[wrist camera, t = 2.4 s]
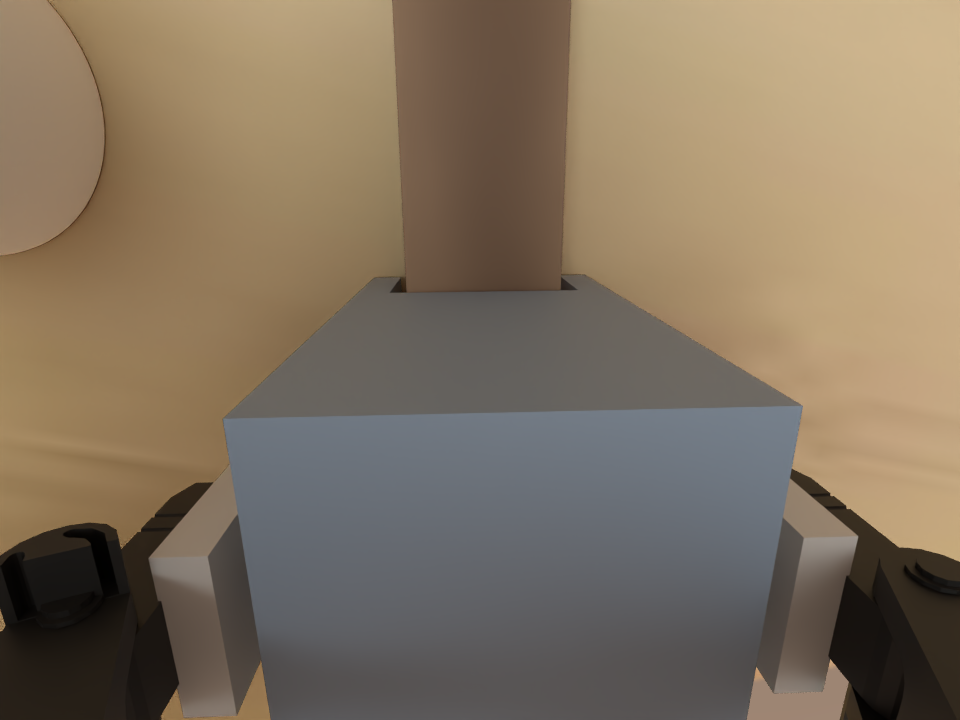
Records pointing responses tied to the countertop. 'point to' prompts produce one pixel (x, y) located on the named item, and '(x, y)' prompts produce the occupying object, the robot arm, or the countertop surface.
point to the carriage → (509, 512)
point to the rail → (482, 142)
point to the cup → (44, 126)
